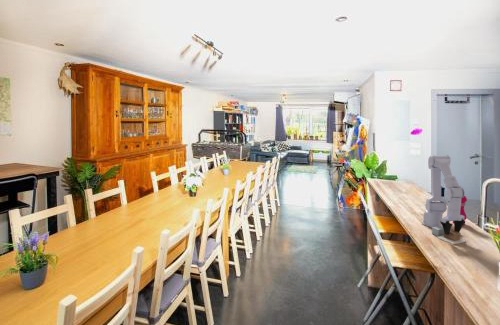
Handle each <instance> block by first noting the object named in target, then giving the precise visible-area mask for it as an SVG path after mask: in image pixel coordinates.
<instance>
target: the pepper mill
mask: <svg viewBox="0 0 500 325" xmlns="http://www.w3.org/2000/svg"><path fill="white" fill-rule="evenodd" d="M467 200H468V198H467V196H466V195H464V197H463V198H461V209H460V215H463V216H465V217H464V221H466V220H467V214H466V212H465V206H466V202H467ZM452 224H454V221H452ZM465 225H466V222H465V223H464V224H463V226H465Z"/></svg>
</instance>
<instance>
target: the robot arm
mask: <svg viewBox="0 0 500 325" xmlns="http://www.w3.org/2000/svg"><path fill="white" fill-rule="evenodd" d="M451 161H452V160H451V157H450V156H449V154H445V155H434V154H433V155H432V154H431V155H430V156H429V157H428V162H427V163H428V164H427V165H428V169H430V179H431V180H430V182H431V184H430V185H431V186H430V187H431V193H430V194H431V196H429V197H428V198H426V200H425V206H424V207H425V209H426V210H425V211H424V212H423V219H422V220H423V221H422V223H421V224H422V225H423V226H426V227H429V228H431V229H432V227H438V226H441V227H443V229H444V234H446V235H449V234H450V229H451V226H452V225H454V231H456V232H459V233H461V230H462V227H463V226H464V225H463V224H464V223H465V224H466V220H464V217H465V216H463V215H460V209H461V198H463V197H464V196H465V190H464V188H463V187H462V186H461V185H459V183H458V180H457V178H456V176H454V175H453V173H452V171H451V167H450V166H451ZM441 175H442V176H443V177H444V178H443V183H444V185H445V188H446V191H445V192H446V199H445V198H443V197H442V177H441ZM445 213H446V215H445V217H443V215H444V214H445ZM453 221H454V223H452V222H453ZM450 222H451V223H450Z"/></svg>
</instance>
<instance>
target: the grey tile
mask: <svg viewBox="0 0 500 325" xmlns="http://www.w3.org/2000/svg"><path fill="white" fill-rule="evenodd" d="M437 239H439V240H441V241H445V242H446V243H449V244H452V245H458V244H462V243H466V239H463V238H461V237H460V240H458V241H453V240H450V239H448V238H445V237H444V235H443V236H437Z"/></svg>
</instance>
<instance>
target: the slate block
mask: <svg viewBox="0 0 500 325" xmlns="http://www.w3.org/2000/svg"><path fill="white" fill-rule="evenodd" d="M431 234H432V235H434V236H436V237H438V236H443V235H444V229H443V227H441V226H438V227H432V228H431Z"/></svg>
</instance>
